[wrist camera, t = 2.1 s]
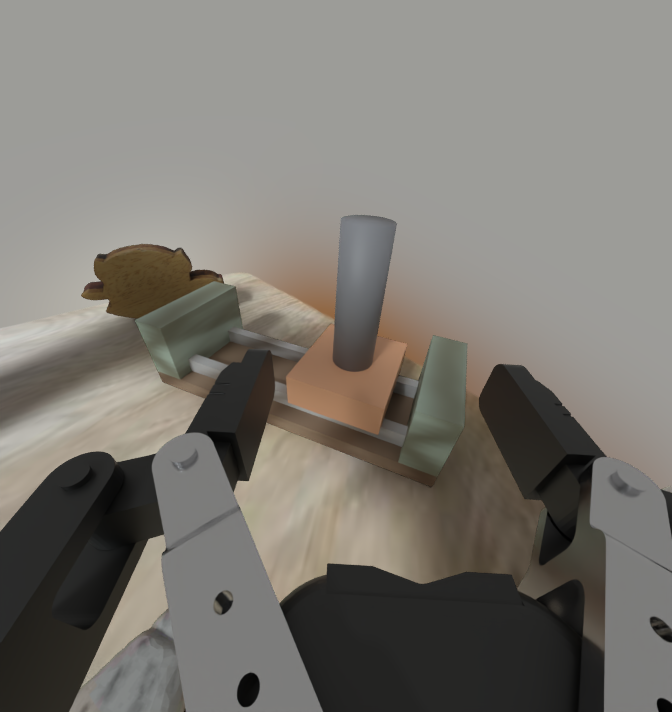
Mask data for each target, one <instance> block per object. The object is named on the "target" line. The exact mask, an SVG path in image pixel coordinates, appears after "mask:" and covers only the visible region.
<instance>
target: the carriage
mask: <svg viewBox="0 0 672 712" xmlns="http://www.w3.org/2000/svg"><path fill="white" fill-rule="evenodd" d="M396 225H397V224H396V222H395V221H393V220H390V219H387V218H383V217H377V216H367V215H352V216H345V217H342V218H341V226H340V242H339V258H338V276H337V291H336V309H335V324H334V325H333V324H330V325H329V326H328V327H327V328H326V330H325V331H324V332H323V333H322V334H321V336H320V337H319V338H318V339H317V340H316V342H315V343H314V344H313V345H312V346H311V347H310V349H309V350H308V351H307V352H306V353H305V355H304V356H303V357H302V358H301V359H300V360H299V362H298V363H297V364H296V365H295V366H294V368H293V369H292V370H291V371H290V372H289V373H288V375H287V376H286V384H287V398H288V403H290V404H293V405H296V406H299V407H301V408H304V409H307V410H310V411H312V412H315V413H318V414H321V415H324V416H326V417H329V418H332V419H335V420H337V421H340V422H343V423H346V424H349V425H351V426H354V427H357V428H360V429H362V430H365V431H368V432H371V433H374V434H376V435H378V434H379V431H380V428H381V426H382V423H383V420H384V417H385V414H386V411H387V408H388V405H389V402H390V399H391V396H392V393H393V390H394V388H395V385H396V382H397V379H398V376H399V373H400V370H401V367H402V363H403V359H404V355H405V352H406V348H407V344H406V343H402V342H398V341H395V340H391V339H387V338H383V337H379V336H377V333H378V328H379V322H380V316H381V310H382V305H383V299H384V294H385V288H386V282H387V276H388V271H389V265H390V259H391V254H392V248H393V242H394V236H395V231H396Z"/></svg>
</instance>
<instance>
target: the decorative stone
mask: <svg viewBox="0 0 672 712" xmlns="http://www.w3.org/2000/svg"><path fill="white" fill-rule="evenodd" d="M184 709H185V703H184V697H183V691H182V685H181V679H180V673H179V667H178V662H177V656H176V650H175V644H174V638H173V632H172V626H171V620H170V614H169V608H168V609H167V610H166V611H165V612H164V613H163V614H162V615H161V616H160V617H159V618H158V619H157V620H156V621H155V622H154V624H153V625H152V627H151V628H150V629H149V630H146V631H144V632H142V633H141V634H140V635H138V636H137V637H136V638H134V639H133V640H132V641H131V642H129V643H128V644H127V646H126V647H125V648H124V649H122V650H121V651H120V652H119V653H117V654H116V655H115V656H114V657H113V658H112V659H111V660H110V662H108V663H107V664H106V665H105V666H104V667H103V668H102V669H101V670H100V671H99V672H98V673H97V674H96V675H95V676H94V677H93V678H92V679H90V680H89V681H88V682H87V683H86V684H85V685H83V686H82V687H81V688H80V689H79V692H78V694H77V696H76V698H75V700H74V703H73V705H72V707H71V709H70V711H69V712H184Z"/></svg>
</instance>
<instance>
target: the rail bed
mask: <svg viewBox="0 0 672 712" xmlns="http://www.w3.org/2000/svg"><path fill="white" fill-rule="evenodd" d="M135 322H136V324H137V326H138V328H139V331H140V333H141V335H142V337H143V339H144V342H145V344H146V346H147V348H148V351H149V353H150V355H151V357H152V359H153V362H154V364H155V366H156V368H157V371H158V373H159V375H160V377H161V379H162V382H164V383H167V384H169V385H172V386H175V387H177V388H180V389H182V390H185V391H187V392H190V393H193V394H195V395H198V396H200V397H203V398H205V399H206V397H207V395H208V394H209V392H210V390H211V388H212V386H213V385H215V381H216V379H217V378H218V376H219V374H220V372H221V371H222V370H223V369H225V368H226V367H227V366H228V365H230V364H231V363H232V362H240V363H241V362H242V360H243V358H244V356H245V354H246V352H247V350H248V349H262V350H270V351H271V353H272V361H273V369H274V377H275V394H274V399H273V402H272V405H271V409H270V412H269V415H268V419H267V423H269V424H272V425H274V426H277V427H279V428H282V429H285V430H287V431H290V432H292V433H295V434H297V435H300V436H302V437H305V438H308V439H310V440H313V441H315V442H318V443H320V444H323V445H325V446H328V447H331V448H333V449H336V450H338V451H341V452H343V453H346V454H349V455H351V456H354V457H356V458H359V459H361V460H364V461H366V462H369V463H372V464H374V465H377V466H379V467H382V468H384V469H387V470H389V471H392V472H395V473H397V474H400V475H402V476H405V477H407V478H410V479H412V480H415V481H418V482H420V483H423V484H425V485H428V486H430V487H432V486H433V484H434V482H435V480H436V478H437V477H438V475H439V473H440V471H441V469H442V467H443V465H444V464H445V462H446V460H447V458H448V456H449V454H450V452H451V451H452V449H453V447H454V445H455V443H456V441H457V439H458V438H459V436H460V434H461V432H462V430H463V428H464V422H465V395H466V369H467V367H466V366H467V343H463V342H459V341H455V340H451V339H447V338H443V337H439V336H434V335H433V337H432V340H431V343H430V347H429V349H428V353H427V356H426V359H425V362H424V365H423V368H422V371H421V374H420V377H419V380H418V381H417V380H414V379H410V378H407V377H403V376H400V375H399V376H398V379H397V382H396V385H395V388H394V390H393V393H392V396H391V399H390V402H389V405H388V408H387V411H386V414H385V417H384V420H383V423H382V426H381V428H380V431H379V434H378V435H376V434H374V433H371V432H368V431H365V430H362V429H360V428H357V427H354V426H351V425H349V424H346V423H343V422H340V421H337V420H335V419H332V418H329V417H326V416H324V415H321V414H318V413H315V412H312V411H310V410H307V409H304V408H301V407H299V406H296V405H293V404H290V403H288V398H287V384H286V376H287V375H288V373H289V372H290V371H291V370H292V369H293V368H294V366H295V365H296V364H297V363H298V362H299V360H300V359H301V358H302V357H303V356H304V355H305V353H306V352H307V351H308V350H309V349H308V348H305V347H301V346H298V345H294V344H291V343H288V342H284V341H281V340H277V339H274V338H271V337H267V336H264V335H260V334H257V333H254V332H250V331H247V330H243V326H242V321H241V315H240V309H239V304H238V298H237V293H236V287H235V286H231V285H227V284H223V283H219V282H215V281H214V282H211V283H209V284H207V285H205V286H203V287H201V288H199V289H197V290H195V291H193V292H191V293H189V294H187V295H185V296H183V297H181V298H179V299H177V300H175V301H173V302H171V303H169V304H167V305H165V306H163V307H161V308H159V309H157V310H154V311H152V312H150V313H148V314H146V315H144V316H142V317H140V318H138V319H136V320H135Z"/></svg>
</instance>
